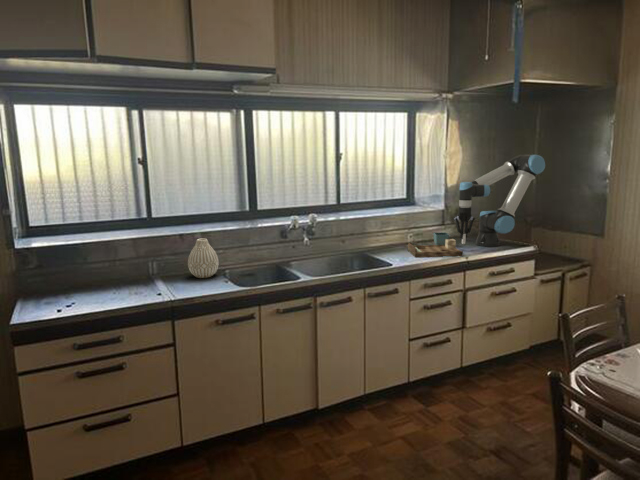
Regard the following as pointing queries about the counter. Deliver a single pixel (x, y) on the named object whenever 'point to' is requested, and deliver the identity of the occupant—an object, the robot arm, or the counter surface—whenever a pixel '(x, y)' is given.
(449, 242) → the block
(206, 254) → the vase
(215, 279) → the counter surface
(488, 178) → the robot arm
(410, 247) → the wooden tray
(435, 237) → the flower pot
